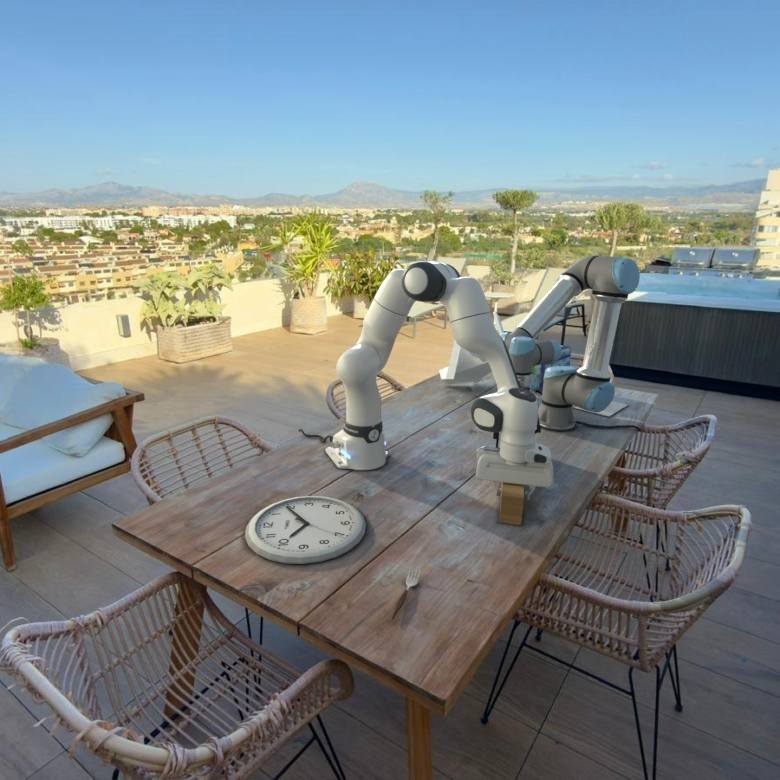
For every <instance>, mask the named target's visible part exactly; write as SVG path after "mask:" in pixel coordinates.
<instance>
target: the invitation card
mask: <svg viewBox="0 0 780 780" xmlns="http://www.w3.org/2000/svg"><path fill="white" fill-rule="evenodd" d="M628 406H629V404H627V403H623V402H618V401H614V400H612V402H611V403H610V405H609V406H608V407H607V408H606V409H604V410H603V411H601V412H592V411H586V410H585V409H582V408H580V407H577V406H574V407H573V409H575V410H581V411H584V412H587V413H593V414H596V415H600V416H604V417H608V418H609V417H611V416H613V415H614V414H616V413H617V412H619V411H621V410H623V409H624V408H626V407H628Z"/></svg>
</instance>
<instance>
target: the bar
mask: <svg viewBox="0 0 780 780" xmlns="http://www.w3.org/2000/svg"><path fill="white" fill-rule="evenodd" d="M500 485H501V486H500V488H501V496H500V503H499V504H500V505H499V520H498V523H500V524H507V525H508V524H509V525H516V526H522V521H523V512H524V503H525V499H524V491H525V485H520V484H512V483H504V482H501V484H500Z"/></svg>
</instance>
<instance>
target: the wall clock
mask: <svg viewBox="0 0 780 780" xmlns="http://www.w3.org/2000/svg"><path fill="white" fill-rule="evenodd" d="M366 527H367V523H366V520H365V517H364V515H363V514H362V513H361V512H360V511H359V509H357V508H356V507H355V506H353V505H351V504H350V503H348V502H347V501H343V500H341V499H338V498H333V497H328V496H322V495H321V496H320V495H305V496H296V497H291V498H286V499H282V500H280V501H277V502H274V503H271V504H270V505H268V506H266V507H264V508H262V509H261V510H259V511H258V512H257V513H256V514H255V515H254V516H252V518H251V519H250V520H249V521H248V524H247V525H246V527H245V532H244V538H245V542H246V544H247V545H248V547H249V548H250V549H251V550H252V551H253V552H254V553H255V554H256V555H258V556H260V557H262V558H265V559H267V560H269V561H273V562H276V563H277V562H278V563H282V564H293V565H305V564H307V565H308V564H314V563H321V562H325V561H328V560H331V559H332V560H333V559H336V558H338V557H340V556H341V555H344V554H345V553H348V552H350V551H351V550H352V549H353V548H355V547H356V546H357V545H358V544H360V542H361V541H362V539H363V537H364V536H365V535H366V529H367V528H366Z"/></svg>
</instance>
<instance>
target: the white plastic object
mask: <svg viewBox="0 0 780 780" xmlns="http://www.w3.org/2000/svg"><path fill="white" fill-rule="evenodd" d="M492 315H493V319H494V321H495V324H496V325H495V326H496V328H497V332H498V334H499V335H501V334H503V333H505V331H504V328H503V325H502V321H501V318H500V315H499V314H498V312H497V311H496V310H495V311H492ZM453 339H454V338H453ZM438 372H439V376H440V381H442V383H443V384H444V385H445V386H449V385H458V384H467V383H468V384H469V383H473V384H477V383H480V382H482V381H484V378H485V377H486V376H487V375H489V374H490V373H492V370H491V367H490V365H489V363H488V361H487V360H486V359H485V358H484V357H482V356H481V355H479V354H476V353H473V352H470V351H467V350H465V349H463V348H462V347H460V346H459V345H458V344H457V343H456V341H455V339H454V340H453V344H452V349H451V353H450V357H449V362H448V366H446V367H444V368H442V369H440V370H439V371H438Z"/></svg>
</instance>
